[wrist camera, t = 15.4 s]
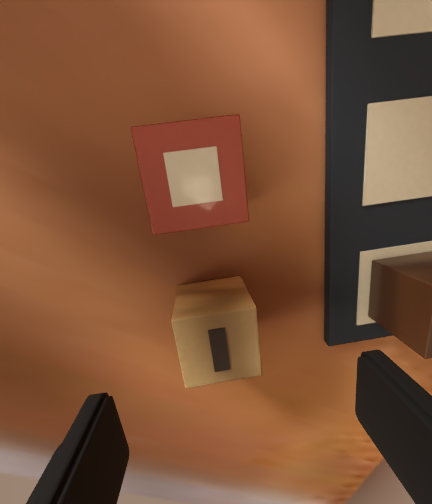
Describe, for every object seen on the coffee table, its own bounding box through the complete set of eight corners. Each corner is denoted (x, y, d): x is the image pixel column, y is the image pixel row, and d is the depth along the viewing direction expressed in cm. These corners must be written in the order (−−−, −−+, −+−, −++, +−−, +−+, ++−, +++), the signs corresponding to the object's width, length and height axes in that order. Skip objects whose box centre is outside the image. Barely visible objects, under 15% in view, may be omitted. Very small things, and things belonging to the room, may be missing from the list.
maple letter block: (187, 339, 15) (185, 390, 11) (177, 284, 14) (170, 321, 10) (246, 329, 16) (263, 376, 12) (240, 275, 14) (257, 307, 11)
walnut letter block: (367, 316, 15) (426, 360, 11) (371, 259, 14) (438, 287, 10) (424, 307, 15) (501, 347, 12) (432, 250, 14) (520, 274, 10)
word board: (324, 341, 16) (329, 347, 16) (326, -92, 10) (336, -112, 9) (442, 321, 17) (452, 326, 16) (515, -107, 10) (538, -127, 10)
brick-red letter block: (165, 221, 13) (152, 235, 9) (150, 146, 12) (129, 126, 8) (233, 211, 13) (249, 221, 9) (226, 136, 12) (240, 112, 8)
